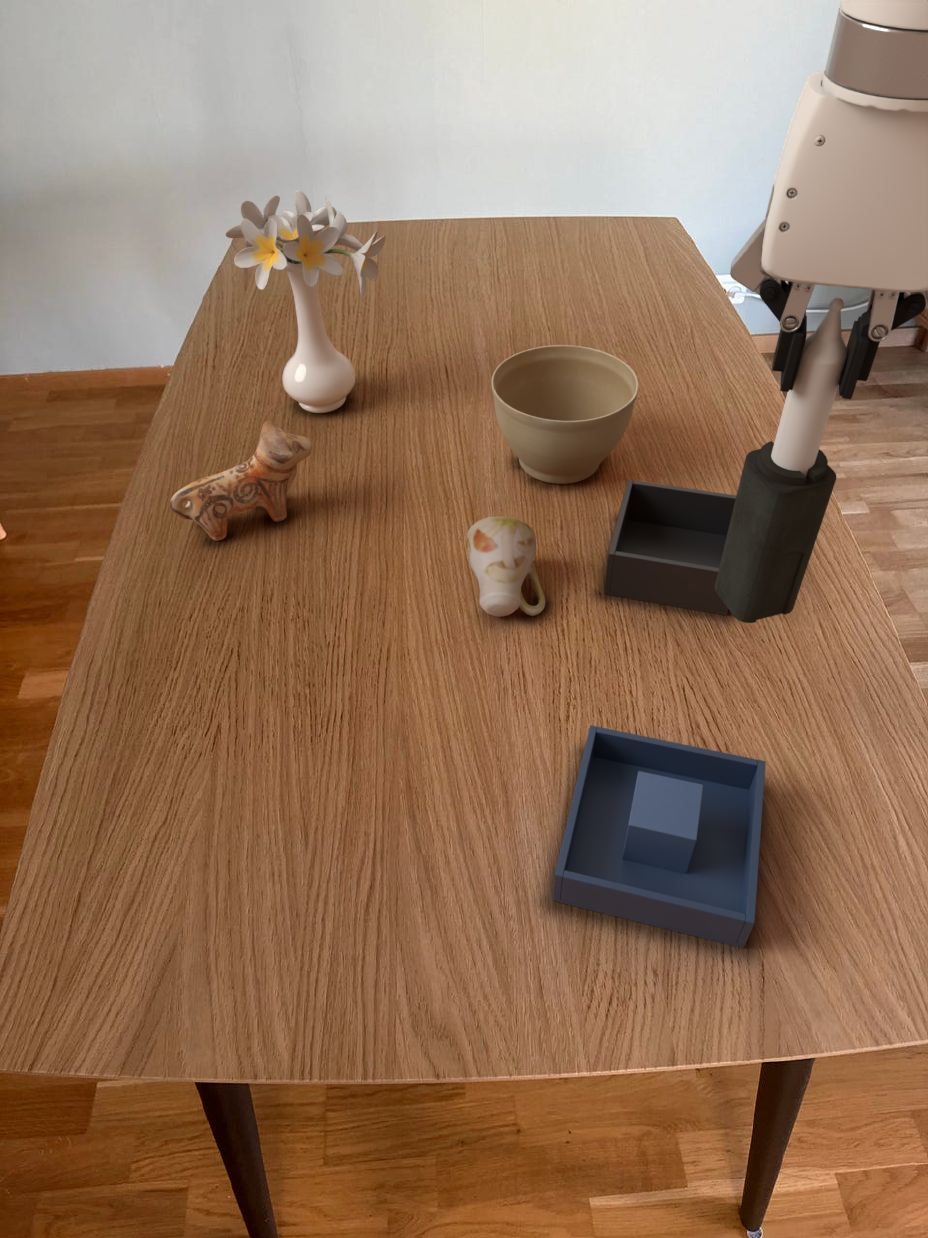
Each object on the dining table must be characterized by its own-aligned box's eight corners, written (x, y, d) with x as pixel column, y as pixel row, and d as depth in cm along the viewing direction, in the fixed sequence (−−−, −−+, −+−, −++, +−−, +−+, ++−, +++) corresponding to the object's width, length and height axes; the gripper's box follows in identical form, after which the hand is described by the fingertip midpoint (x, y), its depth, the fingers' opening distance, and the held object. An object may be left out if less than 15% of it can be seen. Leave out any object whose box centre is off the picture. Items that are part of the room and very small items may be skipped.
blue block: (693, 819, 73) (703, 784, 70) (686, 874, 70) (696, 840, 67) (631, 805, 74) (638, 770, 71) (621, 859, 71) (628, 824, 68)
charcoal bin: (735, 537, 98) (745, 496, 94) (726, 615, 90) (737, 574, 86) (622, 519, 101) (627, 479, 97) (603, 594, 92) (608, 553, 88)
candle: (740, 626, 70) (824, 325, 52) (709, 583, 74) (778, 286, 56) (799, 611, 71) (901, 310, 53) (765, 569, 75) (851, 273, 57)
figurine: (331, 514, 102) (318, 439, 95) (191, 560, 98) (166, 485, 90) (310, 482, 107) (296, 408, 100) (174, 524, 102) (150, 450, 95)
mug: (465, 632, 90) (445, 533, 87) (486, 602, 98) (468, 511, 96) (540, 623, 87) (522, 522, 85) (554, 593, 96) (538, 501, 94)
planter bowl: (651, 487, 104) (663, 405, 97) (517, 515, 101) (518, 433, 94) (597, 412, 115) (605, 333, 107) (475, 436, 112) (473, 356, 105)
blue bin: (755, 789, 76) (765, 761, 73) (743, 948, 66) (754, 923, 64) (586, 753, 79) (590, 724, 76) (552, 901, 69) (554, 875, 67)
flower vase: (389, 430, 114) (369, 229, 96) (245, 424, 115) (200, 225, 98) (405, 375, 123) (390, 182, 105) (272, 370, 124) (235, 179, 106)
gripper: (1076, 41, 46) (946, 368, 59) (742, 28, 49) (690, 341, 62) (1107, 87, 41) (958, 433, 54) (734, 69, 44) (679, 400, 57)
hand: (815, 381), depth 58 cm, fingers closed on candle, 3 cm apart
